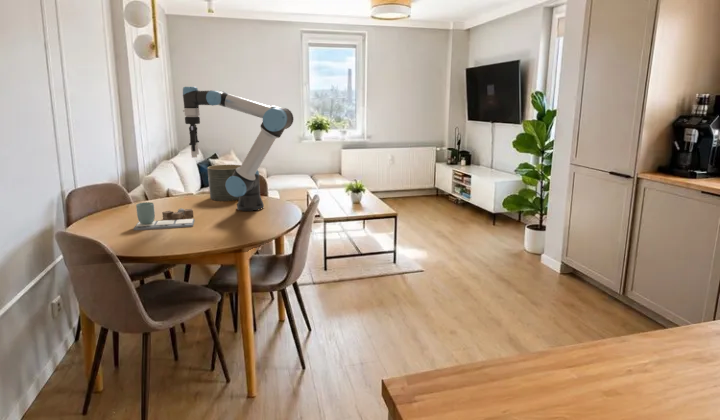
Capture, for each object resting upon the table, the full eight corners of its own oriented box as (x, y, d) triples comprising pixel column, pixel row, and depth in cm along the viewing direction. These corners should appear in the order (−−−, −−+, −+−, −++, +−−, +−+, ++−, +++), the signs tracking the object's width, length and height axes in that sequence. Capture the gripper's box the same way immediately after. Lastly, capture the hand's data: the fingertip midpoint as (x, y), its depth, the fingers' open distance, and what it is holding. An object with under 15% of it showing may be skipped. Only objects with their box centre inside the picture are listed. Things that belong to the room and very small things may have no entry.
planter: (248, 194, 305) (246, 164, 300) (241, 201, 284) (239, 169, 279) (214, 194, 304) (212, 164, 299) (205, 201, 282) (203, 169, 278)
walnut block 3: (192, 215, 248) (191, 208, 247) (193, 217, 245) (192, 210, 244) (184, 216, 246) (183, 209, 245) (185, 218, 243) (185, 211, 242)
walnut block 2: (183, 219, 240) (182, 212, 239) (179, 221, 237) (179, 214, 236) (176, 219, 241) (175, 212, 240) (172, 221, 237) (171, 213, 236)
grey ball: (186, 214, 251) (185, 207, 250) (185, 216, 247) (184, 209, 246) (178, 214, 250) (177, 207, 249) (177, 216, 246) (176, 209, 245)
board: (194, 220, 238) (194, 218, 238) (192, 226, 227) (192, 224, 226) (138, 224, 231) (138, 221, 231) (133, 230, 220) (133, 228, 219)
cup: (148, 225, 223) (146, 206, 221) (134, 225, 225) (132, 205, 222) (158, 221, 231) (156, 202, 228) (145, 221, 232) (143, 201, 230)
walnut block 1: (169, 217, 244) (169, 210, 243) (174, 218, 242) (173, 211, 241) (163, 219, 241) (162, 212, 240) (167, 220, 238) (166, 213, 237)
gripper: (186, 115, 254) (189, 153, 259) (182, 117, 231) (186, 158, 236) (200, 115, 256) (203, 153, 261) (198, 117, 233) (201, 158, 238)
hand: (195, 155), depth 249 cm, fingers open, 13 cm apart
